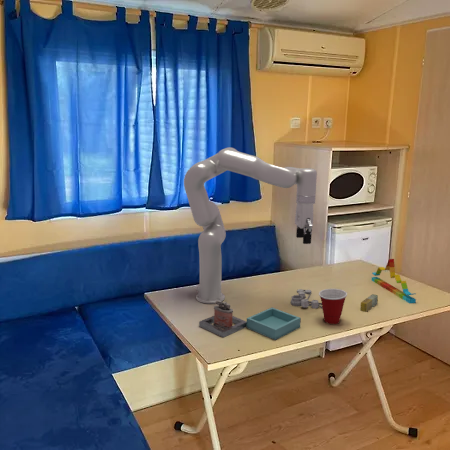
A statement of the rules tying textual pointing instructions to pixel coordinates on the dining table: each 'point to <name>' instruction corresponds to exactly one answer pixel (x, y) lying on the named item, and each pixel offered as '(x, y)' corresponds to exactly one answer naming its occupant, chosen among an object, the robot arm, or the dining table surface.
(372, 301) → the medication box
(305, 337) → the dining table surface
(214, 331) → the gray square frame
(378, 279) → the rainbow zigzag toy
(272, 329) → the tray
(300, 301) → the pulley system
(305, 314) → the dining table surface
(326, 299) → the plastic cup
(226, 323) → the lighter
